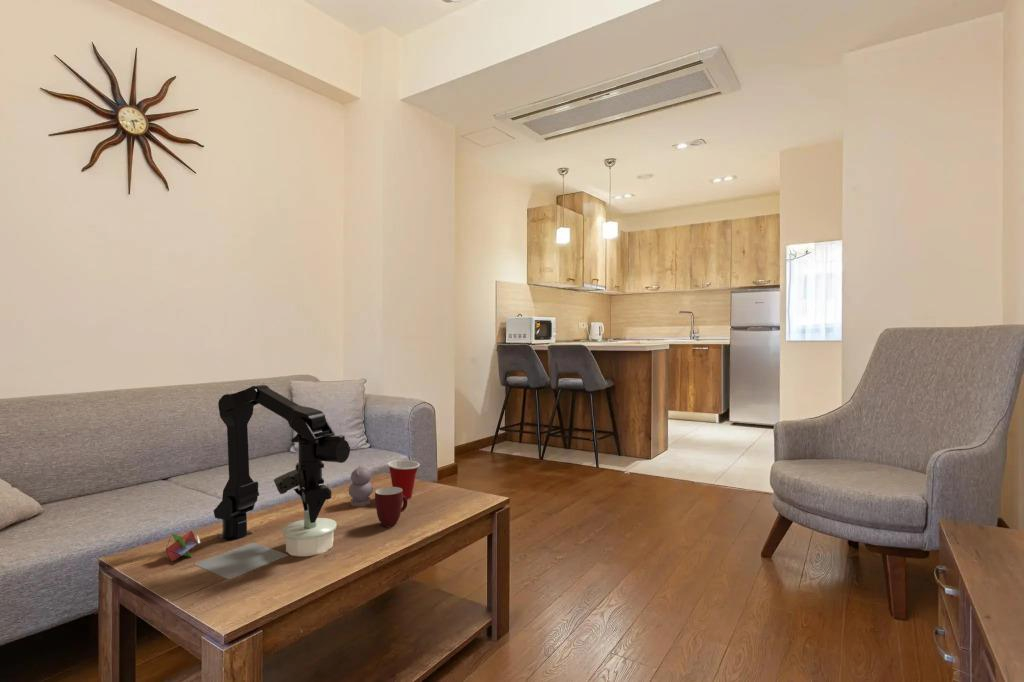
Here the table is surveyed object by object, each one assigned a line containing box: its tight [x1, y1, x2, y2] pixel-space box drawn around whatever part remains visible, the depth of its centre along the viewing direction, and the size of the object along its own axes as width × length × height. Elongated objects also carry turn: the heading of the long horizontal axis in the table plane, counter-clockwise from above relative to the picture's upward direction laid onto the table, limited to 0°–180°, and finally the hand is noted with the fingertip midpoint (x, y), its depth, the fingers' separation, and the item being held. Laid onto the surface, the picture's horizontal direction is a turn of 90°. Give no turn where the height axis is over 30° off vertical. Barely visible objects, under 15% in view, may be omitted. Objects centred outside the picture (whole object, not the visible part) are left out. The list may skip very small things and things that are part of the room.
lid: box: [282, 510, 338, 540], centre depth 132 cm, size 13×13×5 cm
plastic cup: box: [387, 459, 420, 500], centre depth 174 cm, size 11×11×12 cm
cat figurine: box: [348, 464, 374, 507], centre depth 168 cm, size 8×8×12 cm
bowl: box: [285, 530, 335, 557], centre depth 132 cm, size 11×11×5 cm
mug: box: [374, 486, 408, 528], centre depth 150 cm, size 11×8×10 cm
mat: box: [193, 542, 289, 580], centre depth 124 cm, size 15×15×1 cm
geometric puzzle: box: [164, 530, 201, 562], centre depth 125 cm, size 7×7×8 cm
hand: (310, 519), depth 132 cm, fingers open, 5 cm apart
